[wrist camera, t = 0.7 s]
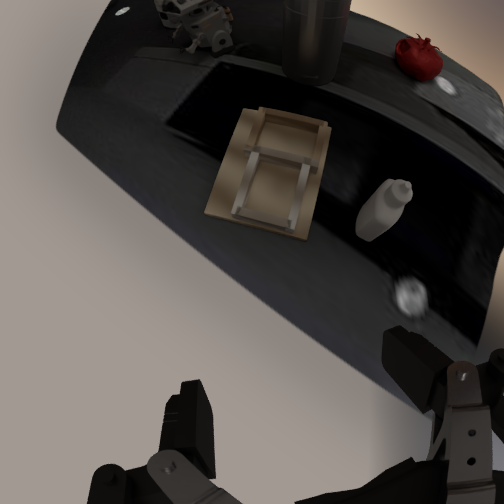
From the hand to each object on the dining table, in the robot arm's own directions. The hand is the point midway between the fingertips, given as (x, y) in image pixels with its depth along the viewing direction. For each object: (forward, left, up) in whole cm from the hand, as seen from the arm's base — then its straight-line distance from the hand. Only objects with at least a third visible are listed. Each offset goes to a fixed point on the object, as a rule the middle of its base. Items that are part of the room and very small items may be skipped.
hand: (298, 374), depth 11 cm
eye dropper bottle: (-16, +8, -22) cm, 29 cm away
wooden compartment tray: (-19, -6, -22) cm, 30 cm away
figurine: (-43, -25, -22) cm, 55 cm away
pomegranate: (-52, +15, -22) cm, 58 cm away
